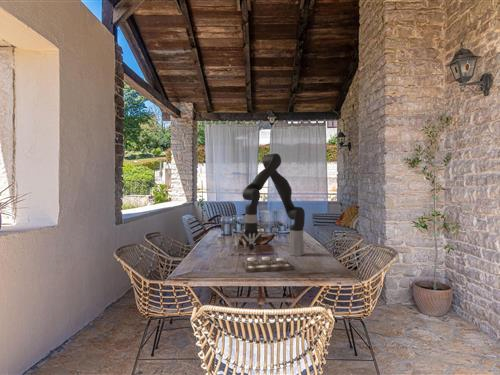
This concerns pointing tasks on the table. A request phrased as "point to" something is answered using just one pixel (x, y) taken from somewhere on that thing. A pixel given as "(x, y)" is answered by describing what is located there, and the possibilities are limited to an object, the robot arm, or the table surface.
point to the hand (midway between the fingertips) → (251, 250)
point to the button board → (266, 265)
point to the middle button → (265, 258)
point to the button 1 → (251, 259)
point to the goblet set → (229, 240)
